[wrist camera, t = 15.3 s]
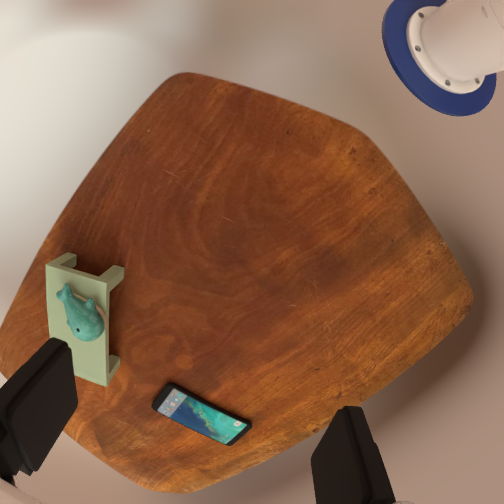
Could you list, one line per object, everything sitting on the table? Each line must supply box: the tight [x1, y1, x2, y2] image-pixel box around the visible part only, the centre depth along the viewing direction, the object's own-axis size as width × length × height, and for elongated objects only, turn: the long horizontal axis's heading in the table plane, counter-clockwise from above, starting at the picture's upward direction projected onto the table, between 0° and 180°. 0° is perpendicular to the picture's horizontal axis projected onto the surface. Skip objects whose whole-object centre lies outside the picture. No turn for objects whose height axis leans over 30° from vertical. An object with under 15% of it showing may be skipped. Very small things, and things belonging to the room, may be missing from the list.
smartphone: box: [152, 383, 252, 446], centre depth 44 cm, size 7×1×15 cm
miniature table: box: [46, 252, 124, 387], centre depth 38 cm, size 16×9×6 cm, turn 167°
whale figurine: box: [56, 283, 106, 342], centre depth 32 cm, size 6×7×4 cm
